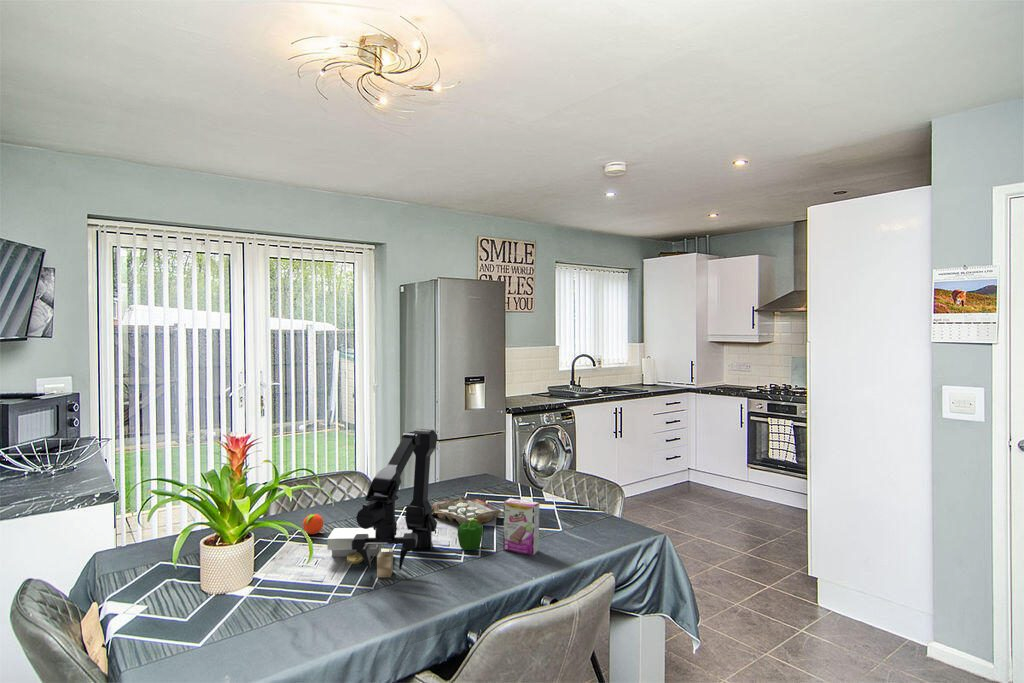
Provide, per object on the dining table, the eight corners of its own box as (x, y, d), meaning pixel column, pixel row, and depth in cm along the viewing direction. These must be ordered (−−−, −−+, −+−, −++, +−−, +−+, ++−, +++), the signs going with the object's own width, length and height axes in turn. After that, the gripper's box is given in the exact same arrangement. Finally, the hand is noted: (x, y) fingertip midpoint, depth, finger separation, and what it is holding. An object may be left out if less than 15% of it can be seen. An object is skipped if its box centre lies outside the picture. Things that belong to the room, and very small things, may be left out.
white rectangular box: (381, 551, 186) (381, 527, 186) (376, 563, 177) (376, 537, 177) (334, 552, 185) (334, 528, 185) (327, 564, 176) (327, 538, 176)
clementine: (315, 539, 197) (315, 518, 196) (297, 537, 198) (297, 517, 198) (327, 530, 204) (327, 511, 204) (309, 529, 206) (309, 510, 206)
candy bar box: (502, 550, 188) (502, 501, 187) (508, 545, 192) (509, 497, 192) (533, 556, 183) (534, 506, 183) (539, 551, 188) (539, 502, 187)
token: (365, 557, 182) (365, 552, 181) (361, 564, 177) (361, 558, 176) (349, 557, 181) (349, 552, 181) (345, 564, 176) (344, 558, 176)
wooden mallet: (397, 556, 182) (397, 538, 182) (390, 577, 167) (390, 556, 167) (385, 557, 182) (385, 538, 182) (377, 577, 167) (377, 557, 167)
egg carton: (417, 516, 223) (416, 502, 223) (456, 502, 239) (456, 490, 239) (471, 534, 203) (471, 519, 203) (510, 518, 220) (510, 504, 220)
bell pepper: (452, 548, 190) (452, 518, 189) (470, 541, 196) (470, 512, 195) (469, 555, 184) (469, 524, 184) (487, 548, 190) (487, 518, 190)
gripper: (419, 508, 177) (419, 558, 178) (359, 509, 176) (358, 559, 177) (415, 520, 166) (415, 573, 167) (351, 521, 165) (351, 574, 166)
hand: (385, 569), depth 169 cm, fingers open, 9 cm apart
